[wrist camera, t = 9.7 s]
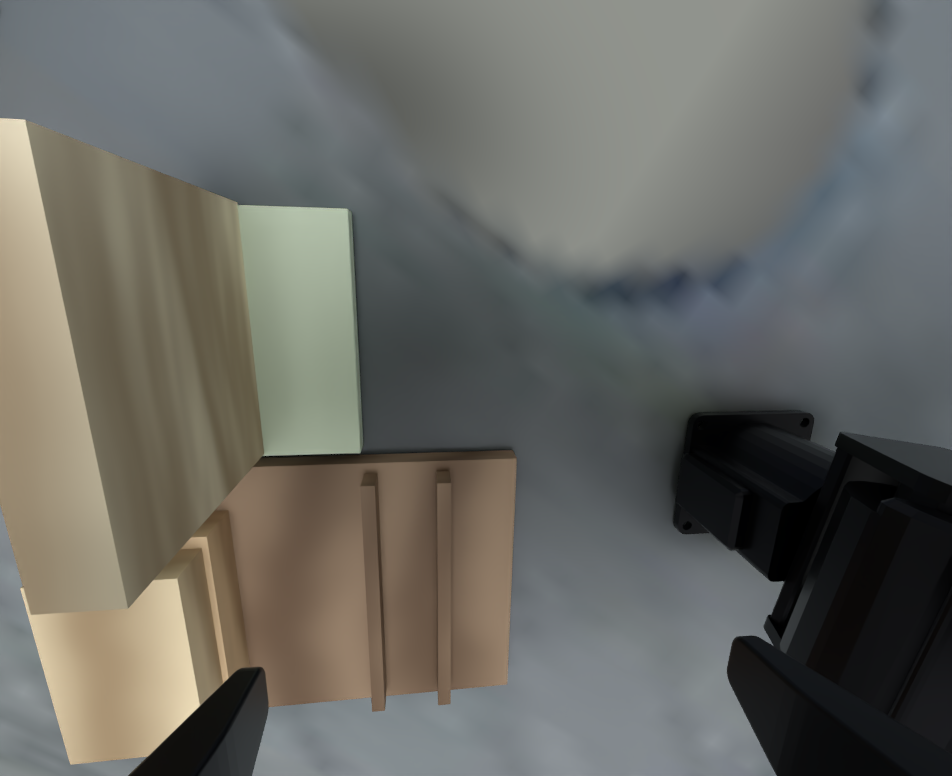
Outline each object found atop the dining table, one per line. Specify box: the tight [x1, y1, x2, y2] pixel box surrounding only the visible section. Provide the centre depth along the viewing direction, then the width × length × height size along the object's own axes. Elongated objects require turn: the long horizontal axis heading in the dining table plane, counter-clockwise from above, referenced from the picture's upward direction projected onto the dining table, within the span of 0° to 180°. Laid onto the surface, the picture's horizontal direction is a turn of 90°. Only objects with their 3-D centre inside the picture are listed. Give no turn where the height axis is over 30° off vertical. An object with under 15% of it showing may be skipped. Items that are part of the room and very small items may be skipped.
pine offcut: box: [20, 548, 223, 765], centre depth 17 cm, size 5×8×2 cm, turn 179°
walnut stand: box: [215, 450, 517, 712], centre depth 20 cm, size 20×13×2 cm, turn 89°
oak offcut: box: [181, 510, 250, 683], centre depth 19 cm, size 6×9×2 cm, turn 179°
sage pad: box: [237, 205, 363, 456], centre depth 18 cm, size 10×10×1 cm
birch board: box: [0, 118, 264, 615], centre depth 13 cm, size 2×10×9 cm, turn 179°
